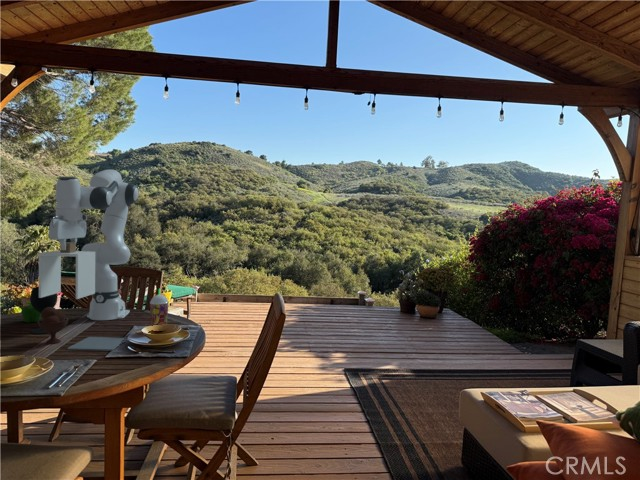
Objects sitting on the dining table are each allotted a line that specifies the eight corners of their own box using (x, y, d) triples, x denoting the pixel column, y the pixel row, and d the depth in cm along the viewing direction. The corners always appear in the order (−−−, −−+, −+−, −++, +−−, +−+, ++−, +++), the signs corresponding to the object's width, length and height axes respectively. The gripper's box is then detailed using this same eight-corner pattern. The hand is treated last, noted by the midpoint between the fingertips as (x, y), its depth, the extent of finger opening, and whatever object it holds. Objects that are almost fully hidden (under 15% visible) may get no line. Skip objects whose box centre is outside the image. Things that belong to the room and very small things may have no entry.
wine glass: (45, 327, 199) (45, 285, 198) (62, 329, 196) (62, 286, 195) (24, 332, 190) (24, 288, 189) (42, 335, 187) (42, 290, 186)
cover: (58, 292, 182) (59, 241, 181) (95, 293, 182) (95, 242, 181) (38, 297, 169) (38, 242, 168) (77, 299, 169) (77, 244, 168)
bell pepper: (43, 319, 214) (43, 299, 214) (41, 322, 207) (41, 302, 207) (23, 320, 211) (23, 300, 210) (20, 324, 203) (20, 303, 203)
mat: (88, 338, 184) (88, 336, 184) (130, 339, 184) (130, 338, 184) (67, 349, 168) (67, 348, 168) (112, 350, 169) (112, 349, 168)
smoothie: (154, 328, 204) (154, 286, 203) (171, 328, 204) (171, 287, 203) (146, 332, 196) (146, 289, 194) (164, 333, 195) (164, 290, 194)
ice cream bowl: (54, 347, 171) (54, 310, 170) (31, 344, 173) (30, 308, 172) (74, 339, 181) (74, 305, 180) (52, 337, 183) (52, 303, 183)
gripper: (60, 216, 164) (60, 251, 164) (89, 216, 184) (89, 248, 185) (44, 215, 164) (44, 251, 165) (74, 215, 184) (74, 247, 185)
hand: (68, 249), depth 175 cm, fingers closed on cover, 4 cm apart
